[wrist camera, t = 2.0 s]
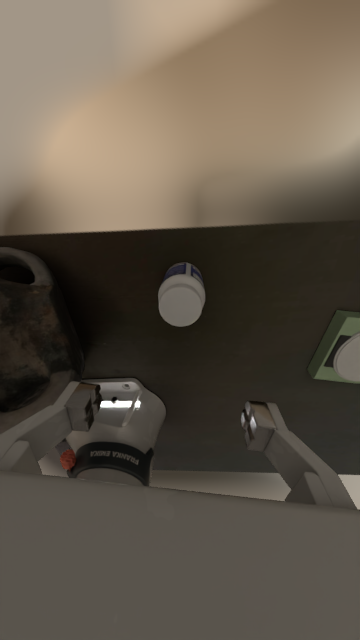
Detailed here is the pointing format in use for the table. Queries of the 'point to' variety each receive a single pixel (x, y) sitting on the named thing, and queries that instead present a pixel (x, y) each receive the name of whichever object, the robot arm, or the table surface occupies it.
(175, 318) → the pill bottle
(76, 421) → the robot arm
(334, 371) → the scale
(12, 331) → the bowl
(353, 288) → the table surface
